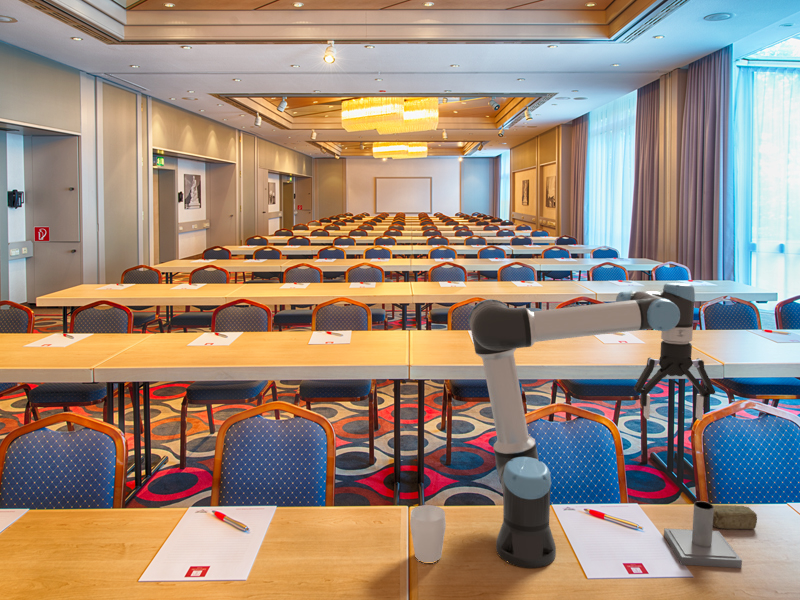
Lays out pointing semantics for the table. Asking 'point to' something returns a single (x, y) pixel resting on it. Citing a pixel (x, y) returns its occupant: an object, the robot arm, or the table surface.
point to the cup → (428, 532)
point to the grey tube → (702, 524)
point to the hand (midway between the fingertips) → (672, 418)
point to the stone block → (734, 517)
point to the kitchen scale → (702, 550)
